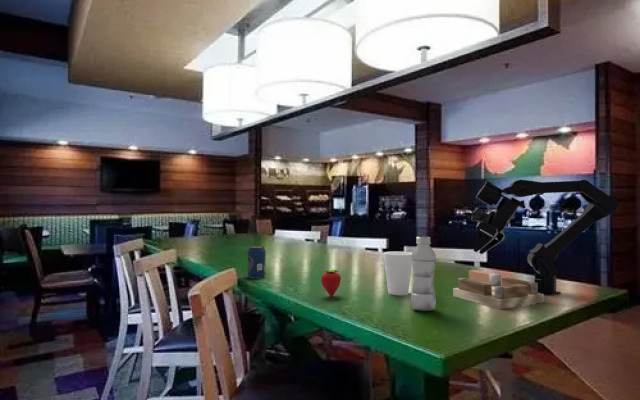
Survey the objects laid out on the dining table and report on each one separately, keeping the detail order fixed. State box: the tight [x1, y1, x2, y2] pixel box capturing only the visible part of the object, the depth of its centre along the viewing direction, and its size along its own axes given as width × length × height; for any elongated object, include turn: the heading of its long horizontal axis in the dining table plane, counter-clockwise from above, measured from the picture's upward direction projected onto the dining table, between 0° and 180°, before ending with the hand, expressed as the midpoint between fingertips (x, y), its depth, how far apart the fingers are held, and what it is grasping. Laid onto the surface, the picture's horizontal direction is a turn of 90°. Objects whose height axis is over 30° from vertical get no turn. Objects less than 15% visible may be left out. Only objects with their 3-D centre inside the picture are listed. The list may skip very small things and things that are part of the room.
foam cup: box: [383, 251, 413, 296], centre depth 137 cm, size 10×9×13 cm
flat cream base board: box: [452, 277, 545, 310], centre depth 128 cm, size 18×18×6 cm
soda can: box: [247, 245, 267, 279], centre depth 166 cm, size 7×7×12 cm
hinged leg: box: [468, 269, 502, 285], centre depth 141 cm, size 12×4×3 cm, turn 25°
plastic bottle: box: [410, 236, 437, 312], centre depth 115 cm, size 6×7×20 cm
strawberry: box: [320, 263, 342, 297], centre depth 132 cm, size 6×8×10 cm
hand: (477, 252), depth 143 cm, fingers open, 9 cm apart
